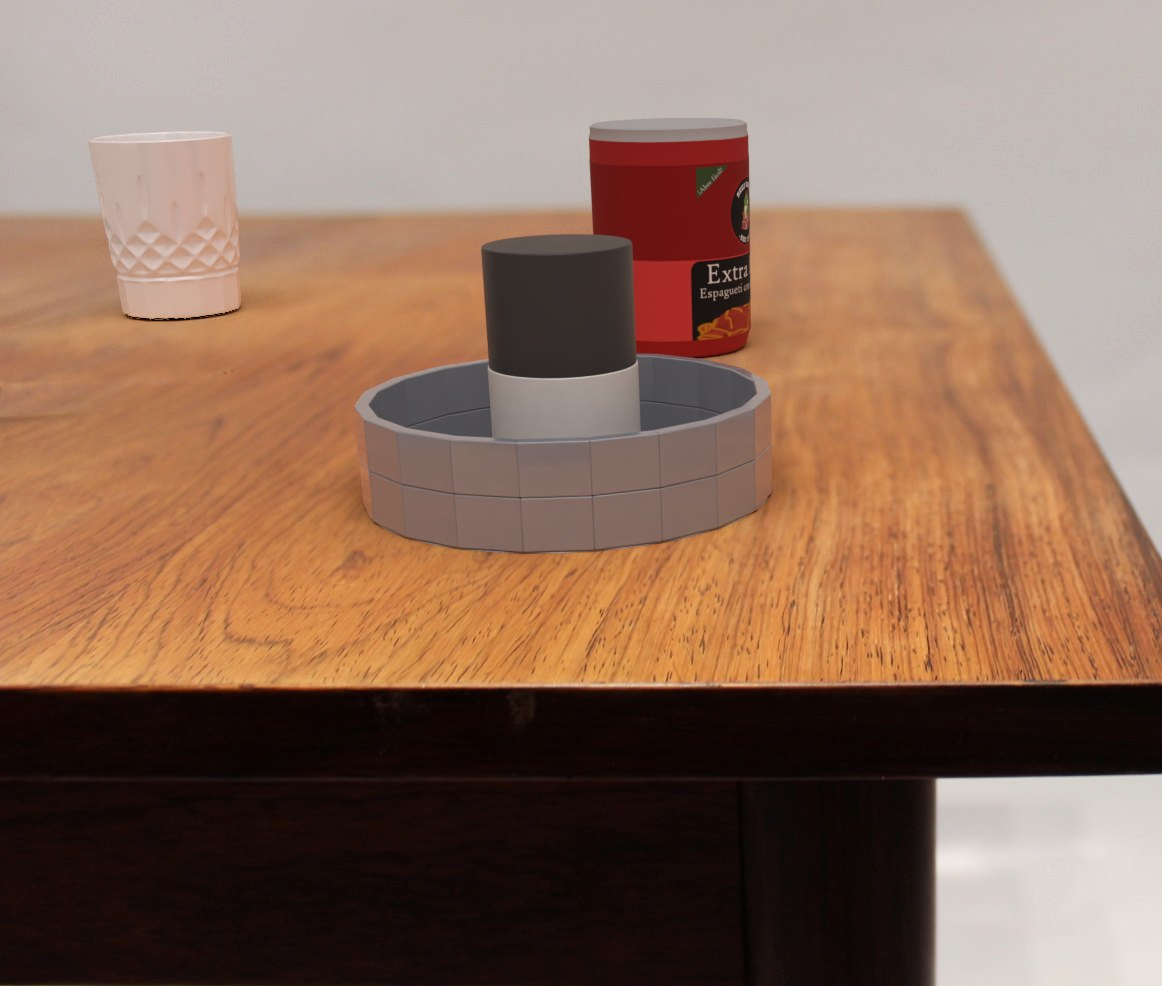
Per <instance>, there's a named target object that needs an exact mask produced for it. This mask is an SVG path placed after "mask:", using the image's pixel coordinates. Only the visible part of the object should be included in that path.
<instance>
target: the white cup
mask: <svg viewBox="0 0 1162 986" xmlns="http://www.w3.org/2000/svg"><path fill="white" fill-rule="evenodd" d="M87 144H88V149H89V154H90V160H91V165H92V170H93V175H94V180H95V186H96V190H97V197H98V201H99V207H100V212H101V217H102V223H103V228H104V232H105V236H106V238H107V244H108V245H107V246H108V251H109V257H110V260H111V264H113V267H114V270H115V272H116V273H117V274H116V277H115V278H116V283H117V289H118V295H119V301H120V306H121V310H122V313H123V312H124V313H126V314H128V315H132V316H138V317H152V318H155V317H157V318H160V317H161V318H163V317H166V318H167V317H193V316H204V315H212V314H218V313H223V314H226V313H225V312H228V313H230V312H229V311H231V312H233V311H232V310H234V311H236V310H235V309H237V310H238V309H239V308H240V307H241V305H242V291H241V279H240V268H239V266H238V264H239V263H240V259H241V254H240V253H241V251H240V236H239V221H238V199H237V188H236V187H237V185H236V173H235V161H234V159H235V158H234V147H233V135H232V133H230V132H227V131H212V130H211V131H209V130H208V131H206V130H199V131H197V130H196V131H195V130H193V131H192V130H190V131H183V130H182V131H155V132H137V133H135V132H134V133H123V134H121V133H120V134H111V135H103V136H102V135H101V136H95V137H91V138H88V139H87ZM218 315H219V314H218Z"/></svg>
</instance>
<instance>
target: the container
mask: <svg viewBox="0 0 1162 986" xmlns="http://www.w3.org/2000/svg"><path fill="white" fill-rule="evenodd" d="M480 252H481V253H480V254H481V269H482V282H483V283H482V284H483V285H482V286H483V297H484V300H483V301H484V312H485V313H484V314H485V327H486V328H485V329H486V342H487V356H488V358H487V359H489V365H488V381H489V395H490V410H491V425H492V438H508V439H539V438H574V437H594V436H604V435H613V434H623V433H632V432H641V425H640V398H639V372H638V360H637V357H636V331H635V304H634V278H633V251H632V242H631V241H630V240H628V239H626V238H622V237H616V236H608V235H593V234H589V233H588V234H585V233H564V234H563V233H562V234H561V233H560V234H539V235H538V234H537V235H526V236H524V235H523V236H516V237H507V238H502V239H496V240H492V241H488V242H486V243H484V244H482V245H481V248H480Z"/></svg>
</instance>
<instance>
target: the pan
mask: <svg viewBox="0 0 1162 986" xmlns="http://www.w3.org/2000/svg"><path fill="white" fill-rule="evenodd" d="M636 357H637V360H638V372H639V398H640V425H641V432H632V433H623V434H613V435H604V436H594V437H574V438H539V439H508V438H492V425H491V410H490V395H489V381H488V365H489V359H488V358H483V359H477V360H472V361H471V360H470V361H464V362H458V363H453V364H445V365H440V366H434V367H429V368H426V369H423V370H418V371H416V372H412V373H408V374H404V375H400V376H396V377H393V378H391V379H389V380H387V381H384V382H382V383H380V384H377V385H376V386H374V387H371V388H368V389H367V390H365V391H363V393H362V394H361V395H360V397H359V398H358V399H357V401H356V402H355V403H354V405H353V413H354V422H355V433H356V442H357V444H356V445H357V454H358V464H359V475H360V476H359V477H360V486H361V487H360V488H361V496H362V505H363V507H364V508H365V511H366V514H367V515H368V516H369V518H370V520H371V521H372V522H373V523H375V524H376V525H378V526H379V527H380V528H382V529H383V530H386V531H388V532H390V533H391V534H395V535H397V536H399V537H403V538H405V539H408V540H411V541H416V542H420V543H423V544H427V545H433V546H437V547H443V548H449V549H457V550H465V551H474V552H485V553H486V552H487V553H498V554H499V553H500V554H530V555H531V554H532V555H534V554H535V555H537V554H538V555H539V554H569V553H570V554H572V553H573V554H574V553H591V552H601V551H603V552H604V551H614V550H622V549H623V550H624V549H629V548H630V549H631V548H637V547H643V546H645V547H646V546H651V545H656V544H657V545H658V544H662V543H667V542H668V543H669V542H672V541H673V542H674V541H677V540H682V539H685V538H690V537H694V536H695V537H696V536H698V535H701V534H705V533H708V532H712V531H714V530H718V529H721V528H723V527H726V526H728V525H731V524H733V523H736V522H738V521H741V520H742V519H744V518H746V517H748V516H750V515H751V514H752V513H755V512H756V511H757V510H758V509H760V508H761V507H762V506H763V505H764V504H765V503H766V501H767V500H768V498H769V496H770V495H771V494H772V492H773V477H772V476H773V470H772V469H773V461H772V459H773V457H772V454H773V453H772V449H773V448H772V393H771V390H770V386H769V384H768V380H767V379H765V378H763V377H761V376H759V375H758V374H756V373H754V372H752V371H750V370H748V369H746V368H744V367H739V366H735V365H731V364H728V363H724V362H723V363H722V362H720V361H719V362H718V361H713V360H709V359H705V358H699V357H694V358H689V357H680V356H671V355H662V354H642V353H636Z"/></svg>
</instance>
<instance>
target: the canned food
mask: <svg viewBox="0 0 1162 986" xmlns="http://www.w3.org/2000/svg"><path fill="white" fill-rule="evenodd" d="M588 149H589V158H588V159H589V160H588V162H589V177H590V179H589V183H590V200H591V202H590V203H591V219H592V235H608V236H616V237H622V238H626V239H628V240H630V241H631V242H632V251H633V278H634V304H635V331H636V353H642V354H662V355H671V356H680V357H689V358H704V357H705V358H706V357H713V356H718V355H724V354H728V353H732V352H736V351H738V350H741V349H742V348H744V347H745V346H746V344H747V342H748V338H749V336H750V335H749V334H750V330H751V328H752V309H751V308H752V302H751V300H752V299H751V296H752V294H751V293H752V291H751V289H752V288H751V227H750V226H751V215H750V214H751V212H750V211H751V209H750V208H751V207H750V206H751V205H750V204H751V203H750V202H751V201H750V200H751V199H750V198H751V197H750V152H749V151H750V150H749V132H748V123H747V122H746V121H744V120H742V119H737V118H722V117H661V118H660V117H659V118H657V117H656V118H654V117H653V118H633V119H632V118H631V119H619V120H608V121H599V122H595V123H592V124H591V125H589V135H588Z"/></svg>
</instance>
